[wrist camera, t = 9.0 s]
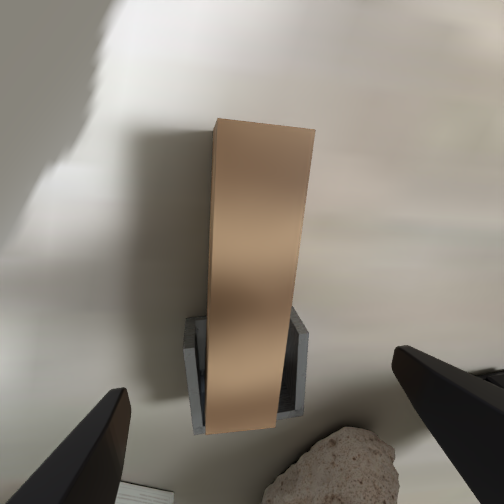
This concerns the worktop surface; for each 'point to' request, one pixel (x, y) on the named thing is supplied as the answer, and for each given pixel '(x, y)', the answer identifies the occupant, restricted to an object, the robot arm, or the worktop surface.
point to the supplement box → (142, 495)
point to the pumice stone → (340, 472)
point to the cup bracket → (291, 376)
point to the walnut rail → (252, 268)
